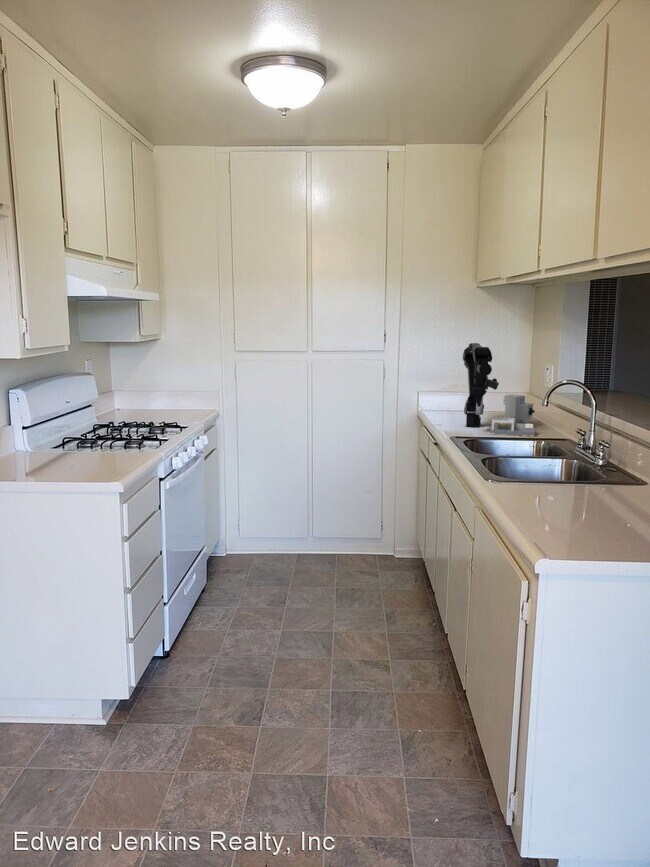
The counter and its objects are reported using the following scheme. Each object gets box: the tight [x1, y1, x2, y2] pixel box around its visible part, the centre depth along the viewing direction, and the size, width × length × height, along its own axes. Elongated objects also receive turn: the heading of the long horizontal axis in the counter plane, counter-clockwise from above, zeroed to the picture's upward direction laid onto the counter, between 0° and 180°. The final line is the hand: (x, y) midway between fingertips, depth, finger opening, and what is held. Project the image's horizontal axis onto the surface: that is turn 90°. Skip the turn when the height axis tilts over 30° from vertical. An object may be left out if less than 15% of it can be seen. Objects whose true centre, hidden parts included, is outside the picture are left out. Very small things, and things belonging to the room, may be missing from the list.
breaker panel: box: [489, 416, 536, 437], centre depth 309 cm, size 20×12×6 cm, turn 72°
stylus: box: [476, 396, 484, 416], centre depth 311 cm, size 3×3×10 cm
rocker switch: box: [524, 423, 534, 428], centre depth 307 cm, size 4×4×1 cm
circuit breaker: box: [502, 393, 536, 427], centre depth 328 cm, size 8×14×15 cm, turn 53°
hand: (479, 406), depth 312 cm, fingers closed on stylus, 3 cm apart
